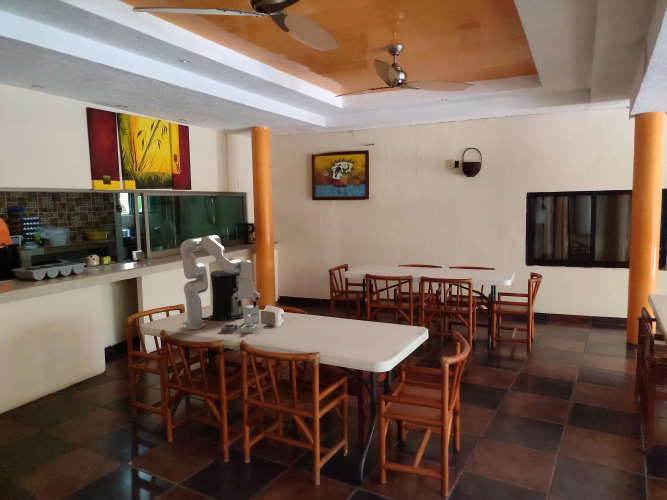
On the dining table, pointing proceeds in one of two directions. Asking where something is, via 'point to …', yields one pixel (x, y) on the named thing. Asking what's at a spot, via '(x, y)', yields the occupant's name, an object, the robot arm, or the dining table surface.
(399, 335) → the dining table surface
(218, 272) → the coffee maker
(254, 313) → the supplement box
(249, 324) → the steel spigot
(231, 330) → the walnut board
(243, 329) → the dock socket
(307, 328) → the dining table surface
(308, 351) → the dining table surface
